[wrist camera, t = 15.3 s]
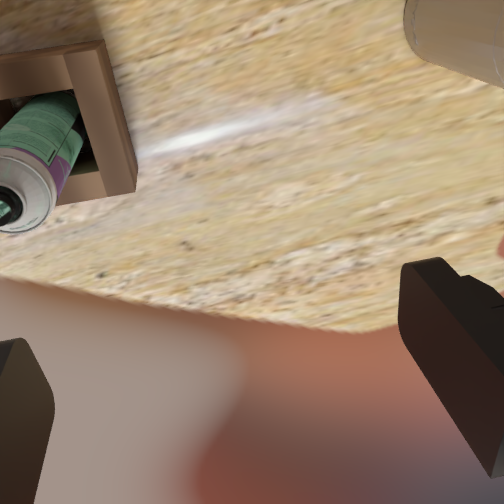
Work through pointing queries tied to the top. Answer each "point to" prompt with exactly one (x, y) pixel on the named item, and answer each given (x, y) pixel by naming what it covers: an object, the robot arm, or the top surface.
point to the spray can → (37, 159)
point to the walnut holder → (92, 110)
